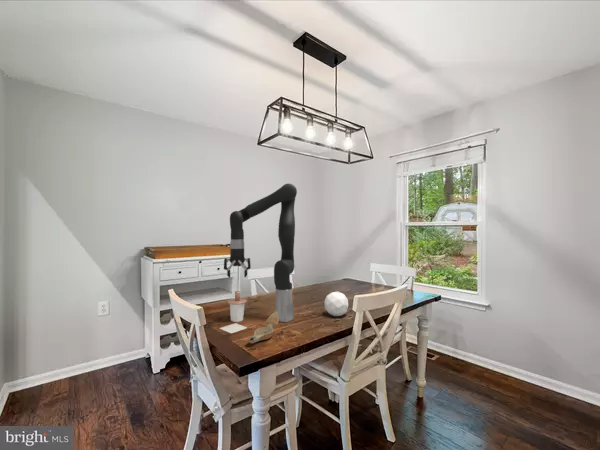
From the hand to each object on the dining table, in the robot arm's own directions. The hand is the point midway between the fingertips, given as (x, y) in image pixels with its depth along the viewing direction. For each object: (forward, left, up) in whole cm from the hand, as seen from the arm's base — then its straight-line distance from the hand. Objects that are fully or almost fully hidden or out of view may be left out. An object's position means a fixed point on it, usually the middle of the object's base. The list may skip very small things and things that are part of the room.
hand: (237, 277), depth 152 cm
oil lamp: (-29, +7, -24) cm, 38 cm away
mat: (-9, +9, -24) cm, 27 cm away
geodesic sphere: (-36, -44, -24) cm, 62 cm away
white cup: (0, 0, -24) cm, 24 cm away
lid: (0, 0, -14) cm, 14 cm away
